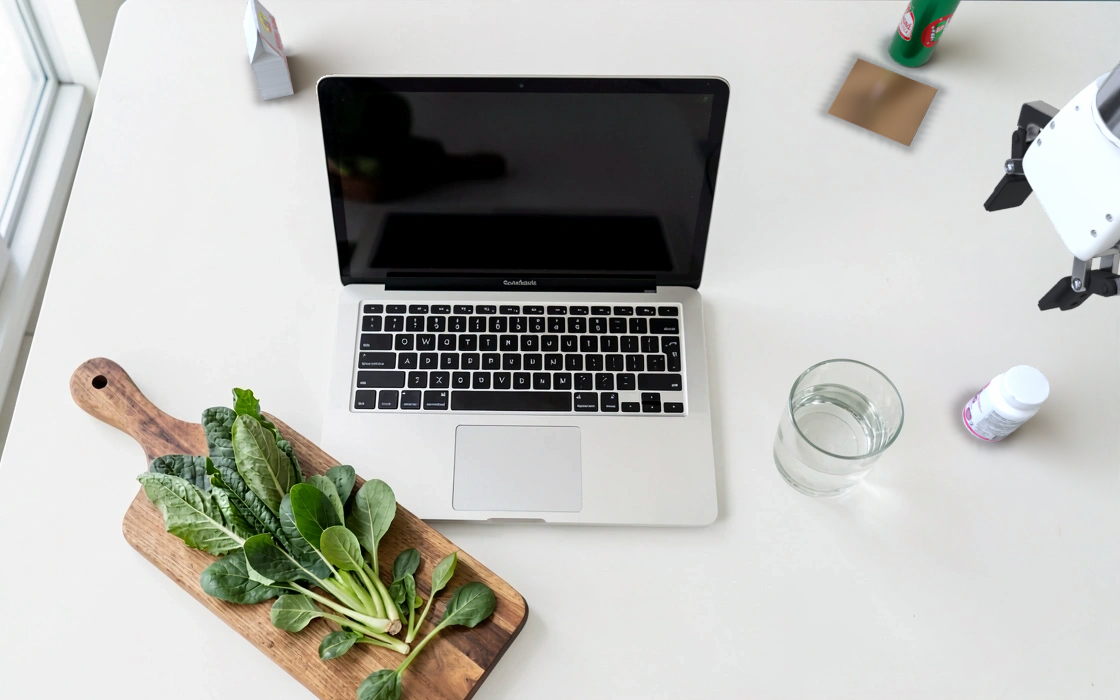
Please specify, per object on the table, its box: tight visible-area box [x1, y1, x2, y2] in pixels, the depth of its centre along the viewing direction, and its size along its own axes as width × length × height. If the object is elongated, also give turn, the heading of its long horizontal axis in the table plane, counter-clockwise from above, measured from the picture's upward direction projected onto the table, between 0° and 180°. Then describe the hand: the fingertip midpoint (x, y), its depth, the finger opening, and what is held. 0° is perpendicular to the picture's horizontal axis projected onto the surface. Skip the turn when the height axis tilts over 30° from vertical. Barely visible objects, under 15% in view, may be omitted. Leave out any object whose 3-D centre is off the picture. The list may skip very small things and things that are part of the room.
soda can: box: [887, 0, 962, 68], centre depth 105 cm, size 5×5×12 cm
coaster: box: [826, 58, 938, 147], centre depth 107 cm, size 10×10×1 cm
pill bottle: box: [961, 364, 1051, 442], centre depth 86 cm, size 5×5×8 cm
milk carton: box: [242, 0, 295, 101], centre depth 105 cm, size 4×7×10 cm, turn 15°
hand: (1027, 254), depth 73 cm, fingers open, 9 cm apart
